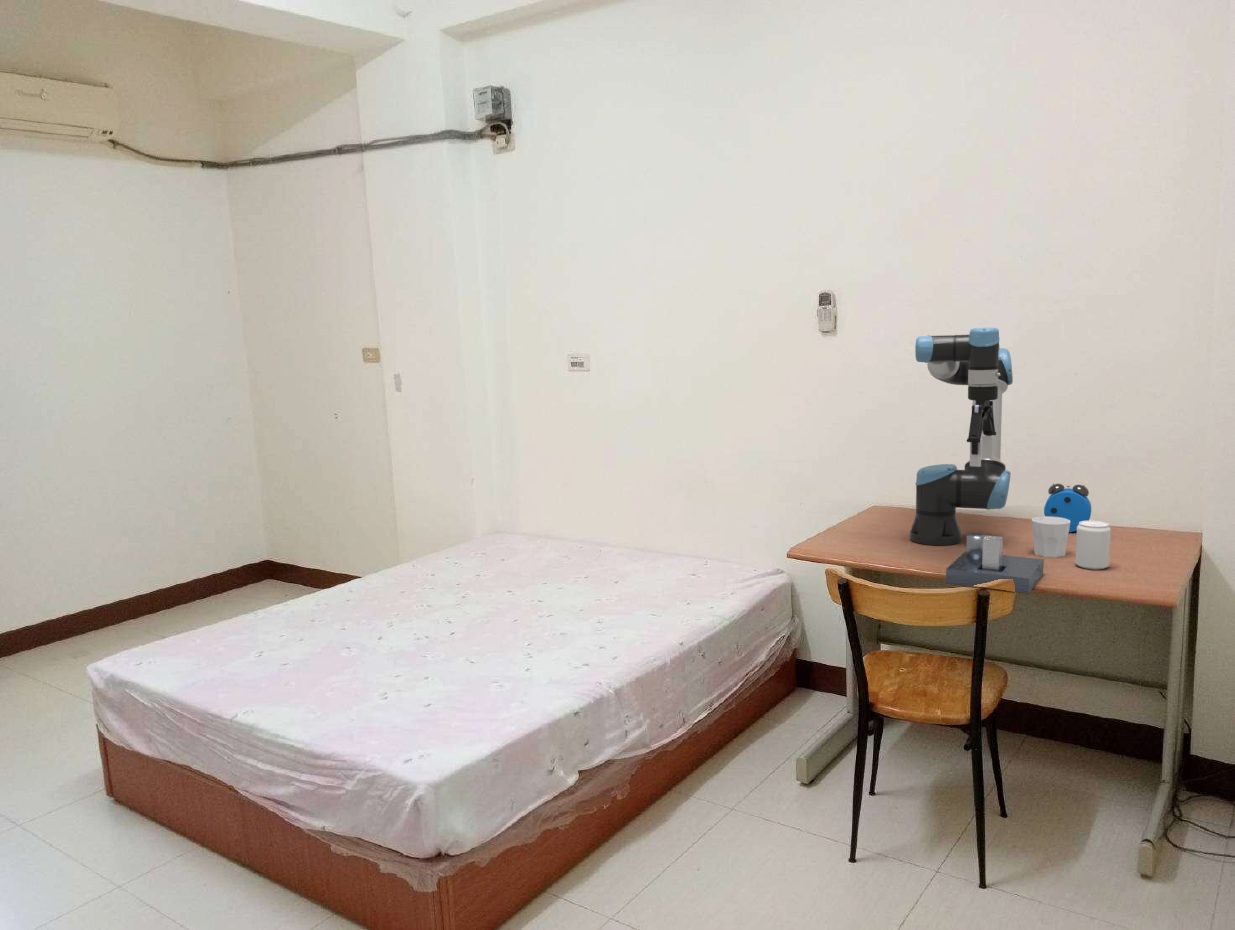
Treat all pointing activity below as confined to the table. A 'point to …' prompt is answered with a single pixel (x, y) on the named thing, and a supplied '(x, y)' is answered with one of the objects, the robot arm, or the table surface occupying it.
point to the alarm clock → (1068, 504)
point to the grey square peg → (992, 553)
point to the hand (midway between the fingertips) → (981, 462)
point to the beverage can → (1093, 545)
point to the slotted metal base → (1013, 567)
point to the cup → (1050, 536)
